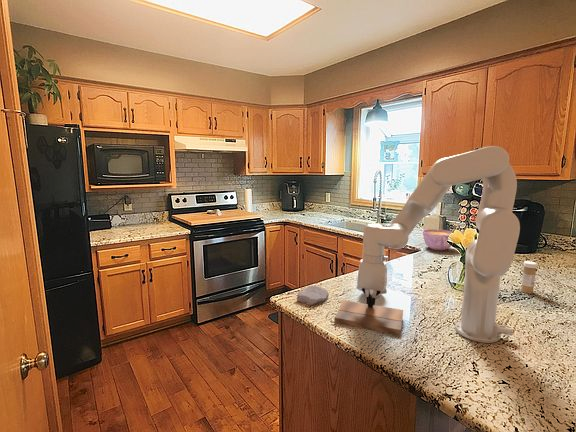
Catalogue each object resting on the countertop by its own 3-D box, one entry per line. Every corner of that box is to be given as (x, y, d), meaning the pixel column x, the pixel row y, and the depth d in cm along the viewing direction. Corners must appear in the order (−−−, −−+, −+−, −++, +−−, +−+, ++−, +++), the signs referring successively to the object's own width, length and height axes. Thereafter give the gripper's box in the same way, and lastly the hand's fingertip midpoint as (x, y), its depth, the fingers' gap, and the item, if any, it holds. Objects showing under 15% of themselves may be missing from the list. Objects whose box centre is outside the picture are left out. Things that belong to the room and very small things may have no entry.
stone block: (330, 301, 131) (311, 291, 136) (332, 291, 129) (312, 281, 135) (314, 312, 122) (294, 301, 127) (316, 302, 120) (296, 291, 126)
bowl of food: (452, 254, 194) (454, 236, 192) (418, 250, 205) (419, 233, 203) (455, 247, 210) (457, 231, 209) (424, 244, 221) (425, 228, 219)
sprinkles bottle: (527, 289, 138) (531, 260, 136) (536, 294, 133) (540, 264, 131) (517, 290, 138) (521, 260, 136) (525, 294, 133) (529, 264, 131)
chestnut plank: (402, 314, 112) (403, 310, 111) (401, 325, 107) (401, 321, 106) (342, 304, 120) (342, 299, 119) (339, 314, 115) (338, 309, 114)
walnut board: (401, 327, 106) (401, 321, 105) (400, 335, 100) (400, 330, 100) (338, 315, 114) (338, 310, 114) (334, 322, 109) (334, 317, 108)
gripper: (395, 258, 112) (392, 305, 115) (354, 253, 118) (352, 298, 120) (393, 264, 105) (390, 314, 108) (350, 258, 111) (348, 306, 114)
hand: (370, 306), depth 114 cm, fingers closed
